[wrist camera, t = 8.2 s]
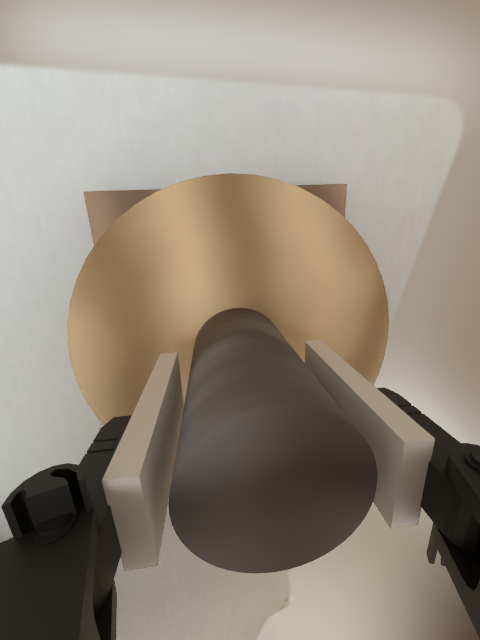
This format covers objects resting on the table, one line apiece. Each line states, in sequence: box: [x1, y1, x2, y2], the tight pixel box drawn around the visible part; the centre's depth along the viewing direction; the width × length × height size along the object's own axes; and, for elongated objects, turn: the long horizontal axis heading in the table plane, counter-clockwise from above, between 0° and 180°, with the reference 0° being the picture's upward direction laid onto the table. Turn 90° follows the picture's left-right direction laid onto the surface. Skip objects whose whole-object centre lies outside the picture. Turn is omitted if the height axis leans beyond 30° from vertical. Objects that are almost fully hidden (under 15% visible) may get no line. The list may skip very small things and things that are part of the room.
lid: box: [68, 174, 389, 573], centre depth 11 cm, size 18×18×10 cm
